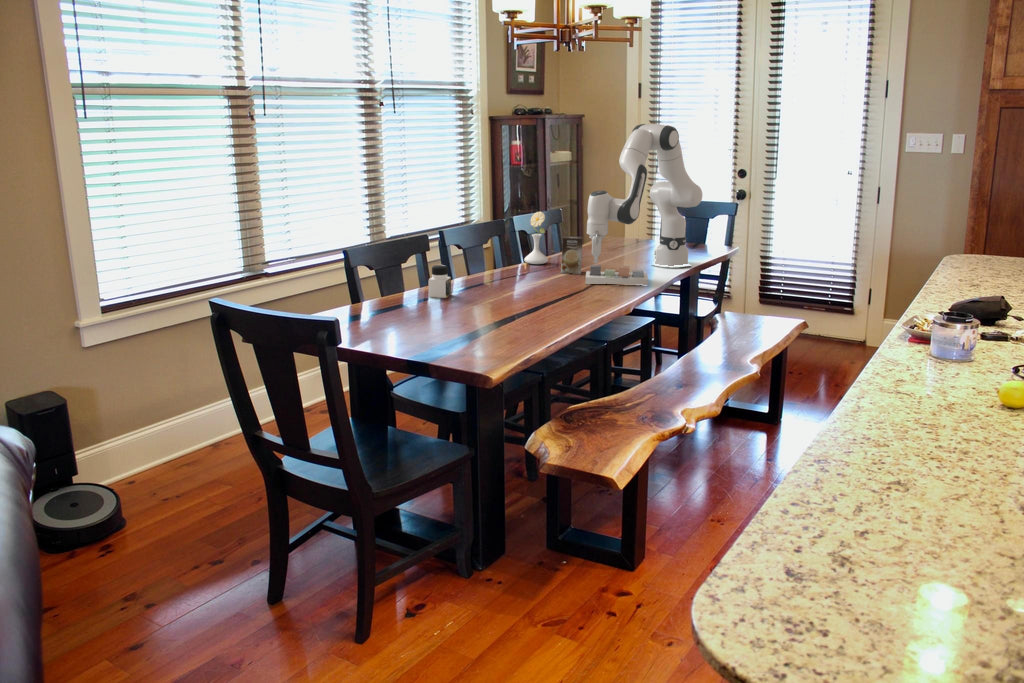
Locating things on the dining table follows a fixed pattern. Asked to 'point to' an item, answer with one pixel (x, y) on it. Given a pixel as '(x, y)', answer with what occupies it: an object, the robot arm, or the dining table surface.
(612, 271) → the key sage
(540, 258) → the flower in vase
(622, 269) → the key terracotta
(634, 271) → the key slate
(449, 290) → the medicine bottle
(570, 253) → the coffee box
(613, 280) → the keypad
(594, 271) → the key charcoal
